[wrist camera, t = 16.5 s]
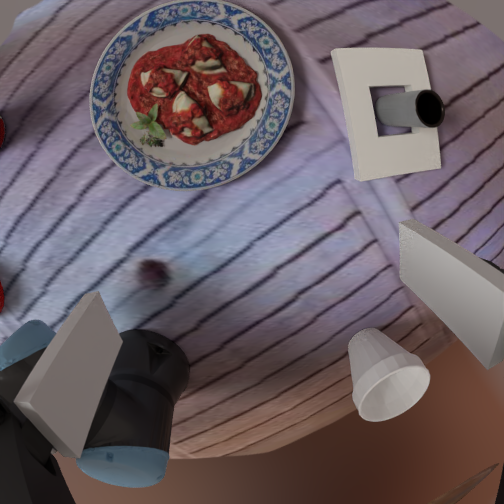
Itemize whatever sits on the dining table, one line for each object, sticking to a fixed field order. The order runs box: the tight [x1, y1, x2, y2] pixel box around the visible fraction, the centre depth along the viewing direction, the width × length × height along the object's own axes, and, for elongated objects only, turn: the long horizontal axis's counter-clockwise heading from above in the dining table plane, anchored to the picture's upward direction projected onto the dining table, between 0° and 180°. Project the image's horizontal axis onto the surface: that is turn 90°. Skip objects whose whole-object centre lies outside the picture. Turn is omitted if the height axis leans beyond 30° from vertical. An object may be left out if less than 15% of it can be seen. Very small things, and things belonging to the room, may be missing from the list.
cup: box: [348, 328, 430, 422], centre depth 44 cm, size 12×12×14 cm
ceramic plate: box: [90, 0, 295, 191], centre depth 33 cm, size 26×26×3 cm
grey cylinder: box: [375, 89, 445, 128], centre depth 32 cm, size 4×4×10 cm
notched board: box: [331, 48, 441, 181], centre depth 36 cm, size 18×14×2 cm
